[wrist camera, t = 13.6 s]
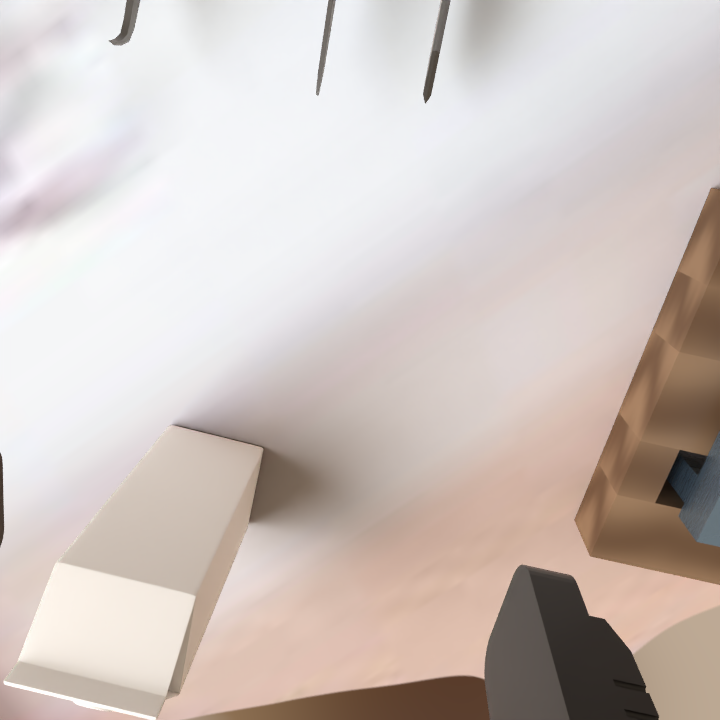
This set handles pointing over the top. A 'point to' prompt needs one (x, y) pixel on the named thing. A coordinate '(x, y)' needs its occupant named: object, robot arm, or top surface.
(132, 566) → the milk carton
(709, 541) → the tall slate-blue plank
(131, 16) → the knife set
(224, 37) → the top surface
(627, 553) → the socket block
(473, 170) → the top surface
